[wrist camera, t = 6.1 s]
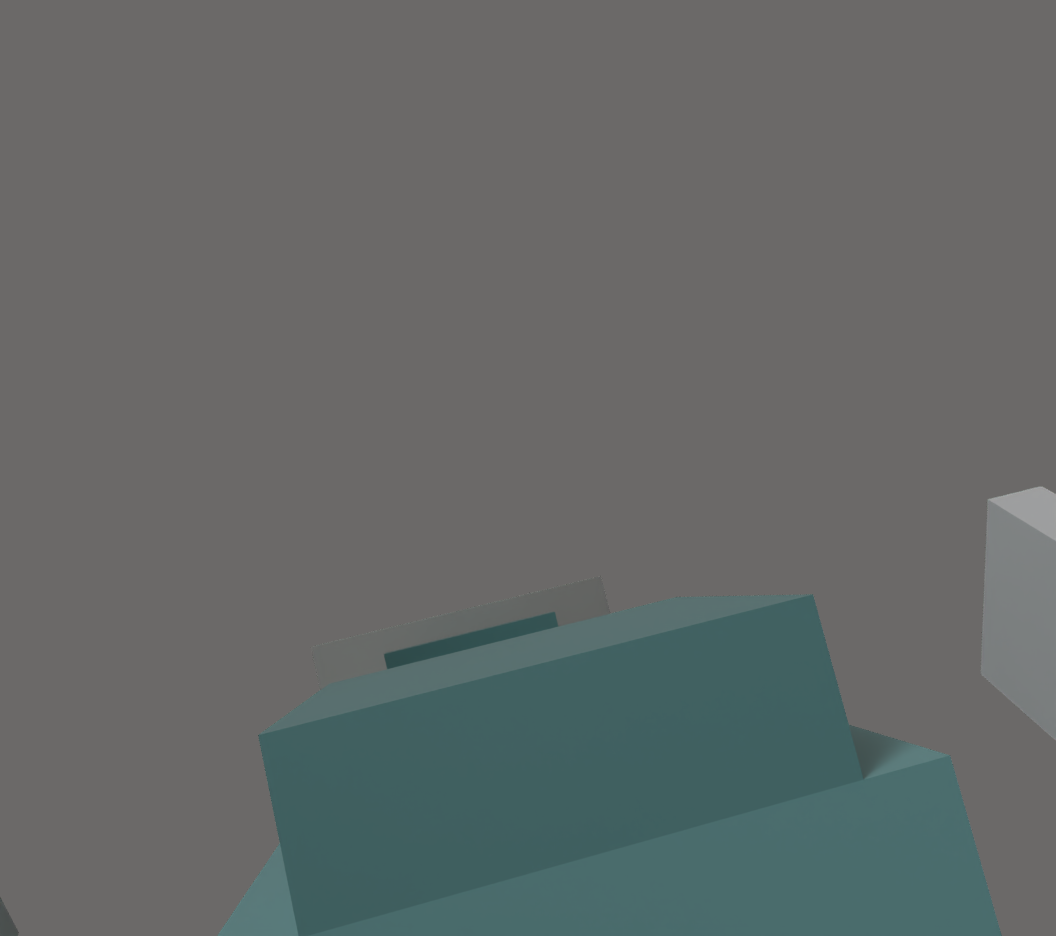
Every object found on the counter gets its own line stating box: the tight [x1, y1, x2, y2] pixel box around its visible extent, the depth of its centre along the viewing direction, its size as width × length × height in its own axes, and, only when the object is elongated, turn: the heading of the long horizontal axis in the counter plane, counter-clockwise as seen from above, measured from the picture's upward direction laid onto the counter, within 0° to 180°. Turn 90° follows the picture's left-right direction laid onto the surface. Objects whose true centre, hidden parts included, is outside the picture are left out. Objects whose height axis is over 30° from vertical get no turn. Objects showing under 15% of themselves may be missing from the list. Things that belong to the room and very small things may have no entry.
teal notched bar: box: [218, 594, 1002, 936], centre depth 17 cm, size 26×4×4 cm, turn 5°
